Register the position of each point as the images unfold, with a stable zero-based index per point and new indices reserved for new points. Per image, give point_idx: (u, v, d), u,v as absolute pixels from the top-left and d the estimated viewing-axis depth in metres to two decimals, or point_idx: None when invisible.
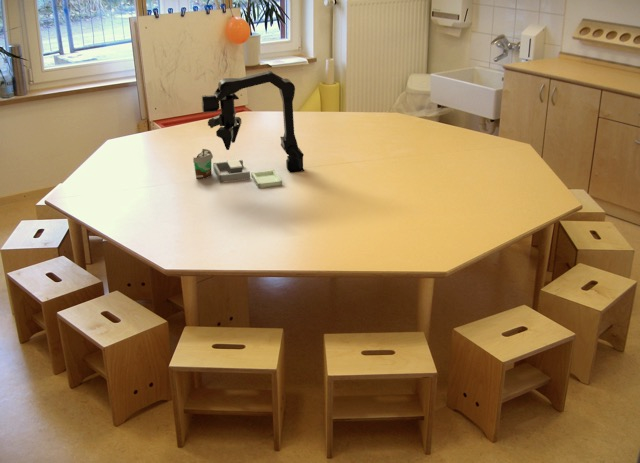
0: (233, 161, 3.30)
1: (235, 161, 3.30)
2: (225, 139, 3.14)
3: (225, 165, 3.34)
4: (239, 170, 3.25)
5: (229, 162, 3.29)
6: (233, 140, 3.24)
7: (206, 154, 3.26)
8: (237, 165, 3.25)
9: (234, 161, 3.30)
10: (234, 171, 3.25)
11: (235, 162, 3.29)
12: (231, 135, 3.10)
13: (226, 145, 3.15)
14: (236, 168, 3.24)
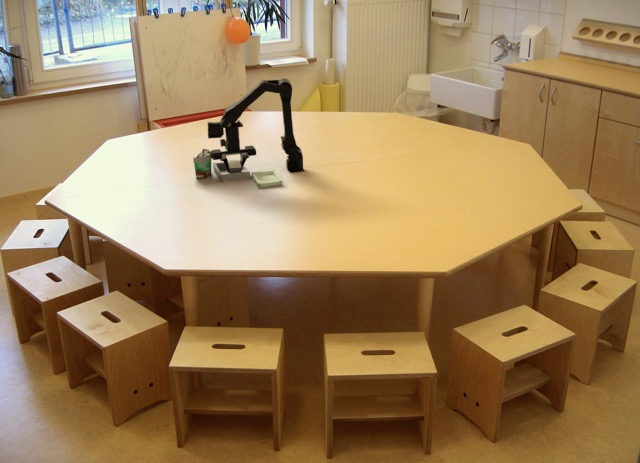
0: (233, 160, 3.30)
1: (235, 161, 3.30)
2: None
3: None
4: (238, 170, 3.25)
5: (229, 162, 3.29)
6: None
7: (206, 154, 3.25)
8: (236, 165, 3.25)
9: (234, 161, 3.30)
10: (233, 171, 3.24)
11: (235, 162, 3.28)
12: (215, 159, 3.21)
13: (226, 167, 3.28)
14: (235, 168, 3.24)
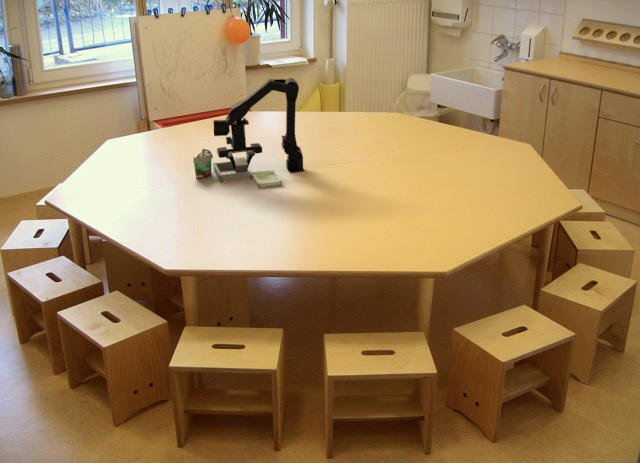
0: (239, 158, 3.30)
1: (241, 158, 3.30)
2: None
3: (225, 165, 3.34)
4: (244, 167, 3.25)
5: (235, 159, 3.29)
6: None
7: (206, 154, 3.26)
8: (242, 162, 3.25)
9: (240, 158, 3.30)
10: (239, 169, 3.25)
11: (241, 159, 3.29)
12: (221, 157, 3.22)
13: (232, 165, 3.28)
14: (241, 165, 3.24)
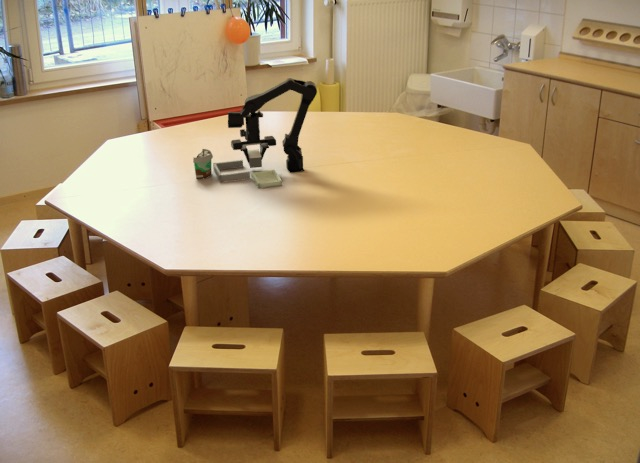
0: (253, 151, 3.31)
1: (255, 151, 3.30)
2: None
3: (225, 165, 3.34)
4: (258, 160, 3.25)
5: (249, 152, 3.30)
6: None
7: (206, 154, 3.26)
8: (256, 155, 3.26)
9: (254, 151, 3.30)
10: (253, 161, 3.25)
11: (255, 152, 3.29)
12: (236, 149, 3.22)
13: (246, 157, 3.28)
14: (255, 158, 3.25)
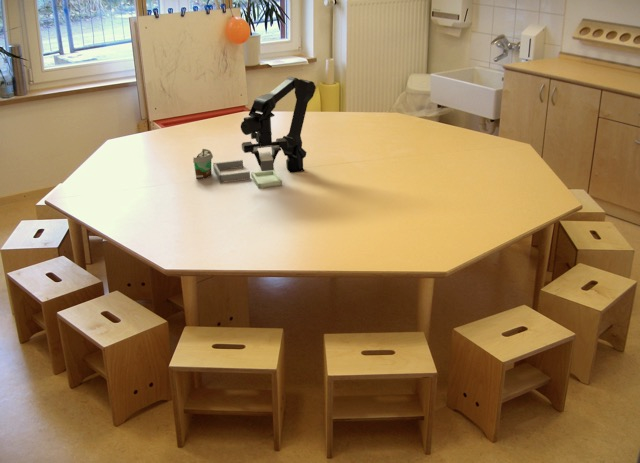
0: (264, 153, 3.19)
1: (267, 153, 3.18)
2: None
3: (225, 165, 3.34)
4: (270, 163, 3.14)
5: (260, 154, 3.18)
6: None
7: (206, 154, 3.26)
8: (268, 158, 3.14)
9: (265, 153, 3.18)
10: (265, 164, 3.13)
11: (266, 154, 3.17)
12: (246, 152, 3.10)
13: (257, 160, 3.17)
14: (267, 161, 3.13)
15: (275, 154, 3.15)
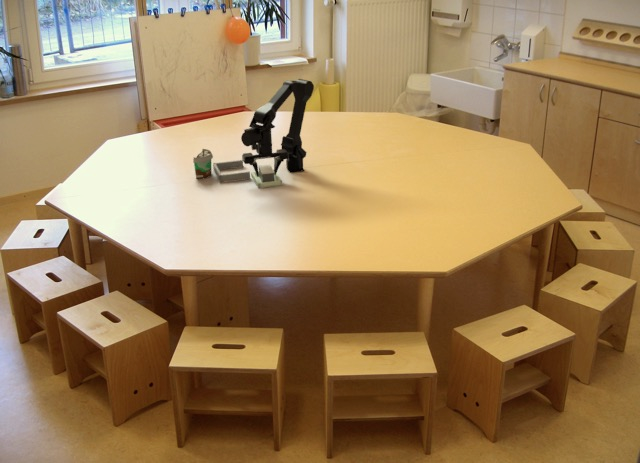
0: (265, 166, 3.21)
1: (267, 166, 3.21)
2: None
3: (225, 165, 3.34)
4: (271, 176, 3.16)
5: (261, 167, 3.20)
6: (274, 172, 3.21)
7: (206, 154, 3.26)
8: (269, 171, 3.16)
9: (266, 166, 3.21)
10: (266, 177, 3.16)
11: (267, 167, 3.20)
12: (247, 163, 3.12)
13: (255, 171, 3.18)
14: (268, 174, 3.15)
15: (278, 165, 3.17)
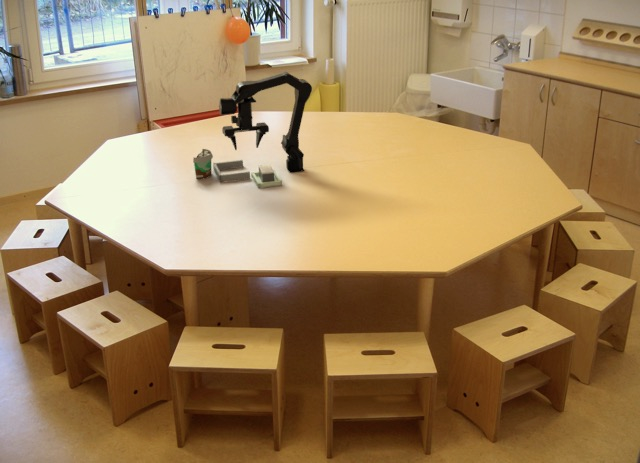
0: (265, 166, 3.21)
1: (267, 166, 3.21)
2: (232, 139, 3.19)
3: (225, 165, 3.34)
4: (271, 176, 3.16)
5: (261, 167, 3.20)
6: (256, 145, 3.23)
7: (206, 154, 3.26)
8: (269, 171, 3.16)
9: (266, 166, 3.21)
10: (266, 177, 3.16)
11: (267, 167, 3.20)
12: (227, 136, 3.14)
13: None
14: (268, 174, 3.15)
15: (260, 138, 3.20)
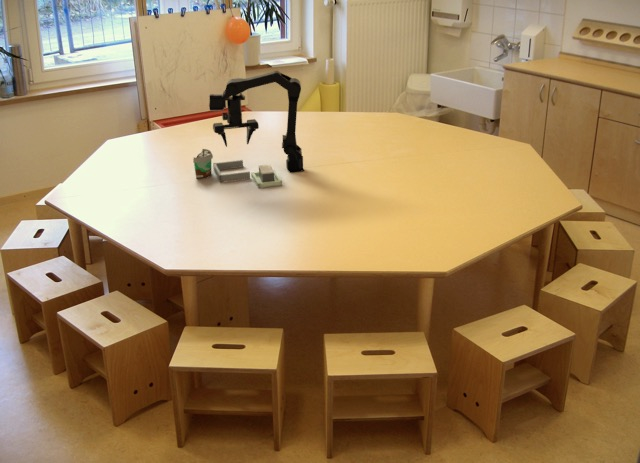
0: (265, 166, 3.21)
1: (267, 166, 3.21)
2: None
3: (225, 165, 3.34)
4: (271, 176, 3.16)
5: (261, 167, 3.20)
6: (247, 142, 3.27)
7: (206, 154, 3.25)
8: (269, 171, 3.16)
9: (266, 166, 3.21)
10: (266, 177, 3.16)
11: (267, 167, 3.20)
12: (217, 132, 3.19)
13: (224, 141, 3.25)
14: (268, 174, 3.15)
15: (250, 134, 3.24)
